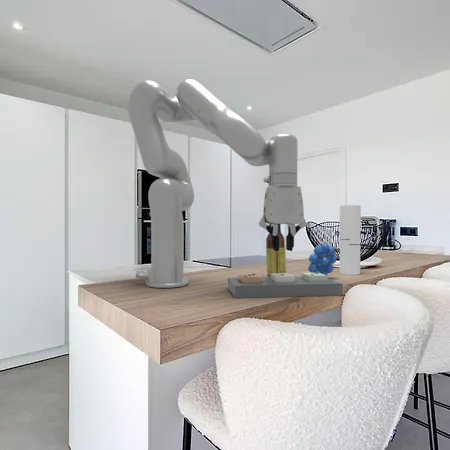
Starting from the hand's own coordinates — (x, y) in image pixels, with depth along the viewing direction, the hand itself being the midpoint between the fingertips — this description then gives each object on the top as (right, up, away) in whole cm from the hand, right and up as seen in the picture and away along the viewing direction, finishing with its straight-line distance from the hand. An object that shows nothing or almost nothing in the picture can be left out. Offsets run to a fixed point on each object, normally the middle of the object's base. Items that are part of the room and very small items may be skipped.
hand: (282, 249), depth 86 cm
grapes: (+16, -11, +20) cm, 29 cm away
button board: (0, -11, 0) cm, 11 cm away
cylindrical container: (+31, -11, +33) cm, 46 cm away
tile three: (-9, -10, -1) cm, 13 cm away
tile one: (0, -10, 0) cm, 10 cm away
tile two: (+9, -10, +1) cm, 13 cm away
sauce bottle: (+1, -11, +19) cm, 23 cm away
